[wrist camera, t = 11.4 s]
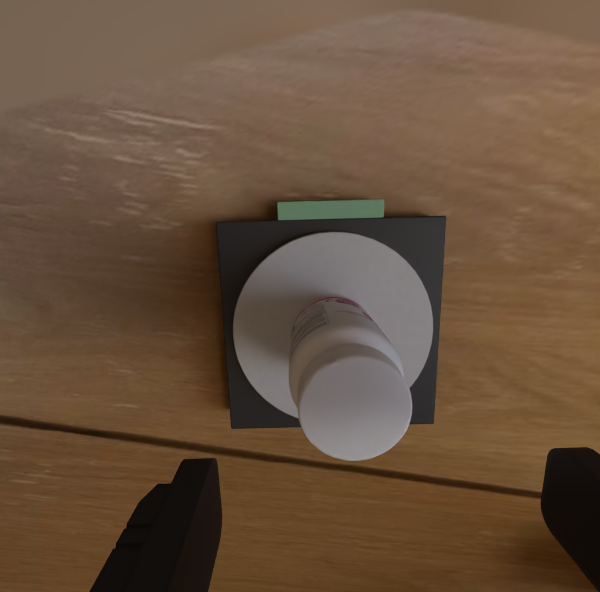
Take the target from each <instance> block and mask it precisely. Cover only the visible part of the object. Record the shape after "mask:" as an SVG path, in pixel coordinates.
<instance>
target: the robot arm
mask: <svg viewBox="0 0 600 592" xmlns="http://www.w3.org/2000/svg"><path fill="white" fill-rule="evenodd" d="M541 511H542V515H543V518H544V520H545V523H546V525H547V527H548V529H549V530H550V532H551V533H552V535H553V536H554V537H555V538H556V540H557V541H558V542H559V543H560V545H561V546H562V547H563V548H564V549H565V551H566V552H567V553H568V554H569V556H570V557H571V558H572V559H573V561H574V562H575V563H576V564H577V566H578V567H579V568H580V569H581V571H582V572H583V573H584V574H585V575H586V577H587V578H588V579H589V580H590V582H591V583H592V584H593V585H594V587H595V588H596V589H597V590H598V592H600V454H598V453H597V452H596V451H594V450H593V449H590V448H587V447H580V448H554V449H552V450H550V451H549V453H548V456H547V462H546V469H545V476H544V483H543V490H542V496H541ZM221 528H222V507H221V496H220V486H219V475H218V465H217V461H216V459H215V458H205V459H184V460H183V461H182V462H181V464H180V466H179V468H178V470H177V472H176V474H175V477H174V479H173V481H172V483H171V484H157V485H156V486H155V487H154V488H153V489H152V490H151V491H150V492H149V493H148V494H147V495H146V496H145V497H144V498H143V499H142V500H141V501H140V502H139V503H138V505H137V507H136V509H135V510H134V512H133V514H132V516H131V518H130V519H129V521H128V523H127V527H126V529H124V530H123V532H122V534H121V536H120V537H119V539H118V541H117V543H116V548H115V549H113V550H112V552H111V554H110V556H109V557H108V559H107V561H106V563H105V565H104V566H103V568H102V570H101V572H100V574H99V576H98V577H97V579H96V581H95V583H94V585H93V586H92V588H91V590H90V592H208V589H209V585H210V580H211V576H212V572H213V568H214V564H215V559H216V555H217V551H218V547H219V542H220V536H221Z"/></svg>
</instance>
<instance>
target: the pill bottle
mask: <svg viewBox="0 0 600 592" xmlns="http://www.w3.org/2000/svg"><path fill="white" fill-rule="evenodd" d="M289 387H290V392H291V396H292V399H293V401H294V403H295V405H296V407H297V408H298V418H299V422H300V425H301V428H302V430H303V432H304V434H305V435H306V437H307V438H308V440H309V441H310V442H311V443H312V444H313V445H314V446H315V447H316V448H318V449H319V450H320V451H322V452H323V453H325V454H327V455H329V456H332V457H334V458H338V459H341V460H349V461H358V460H365V459H370V458H373V457H376V456H378V455H381V454H382V453H384V452H386V451H388V450H389V449H390V448H392V447H393V446H394V445H395V444H396V443H397V442H398V441H399V440H400V439H401V438H402V436H403V435H404V434H405V432H406V430H407V428H408V426H409V423H410V420H411V416H412V398H411V393H410V389H409V387H408V385H407V383H406V381H405V379H404V372H403V366H402V363H401V360H400V357H399V355H398V353H397V351H396V349H395V348H394V346H393V345H392V344H391V342H390V341H389V340H388V338H387V337H386V336H385V334H384V333H383V332H382V331H381V329H380V328H379V327H378V325H377V324H376V323H375V322H374V320H373V319H372V318H371V316H370V315H369V314H368V313H367V311H366V310H365V309H364V308H363V307H362V306H361V305H359V304H358V303H356V302H355V301H353V300H351V299H348V298H345V297H339V296H328V297H323V298H320V299H317V300H315V301H313V302H312V303H310V304H309V305H307V306H306V307H305V308H304V309H303V310H302V311H301V312H300V313H299V315H298V316H297V318H296V320H295V322H294V325H293V328H292V333H291V346H290V360H289Z"/></svg>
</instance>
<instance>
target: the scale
mask: <svg viewBox="0 0 600 592" xmlns="http://www.w3.org/2000/svg"><path fill="white" fill-rule="evenodd" d="M277 213H278V220H270V221H233V222H216V232H217V245H218V258H219V271H220V285H221V298H222V311H223V324H224V338H225V351H226V364H227V377H228V391H229V404H230V417H231V428H232V429H243V428H282V427H301V425H300V422H299V418H298V408H297V407H296V405H295V403H294V401H293V399H292V396H291V392H290V387H289V360H290V346H291V333H292V328H293V325H294V322H295V320H296V318H297V316H298V315H299V313H300V312H301V311H302V310H303V309H304V308H305V307H306V306H307V305H309V304H310V303H312V302H313V301H315V300H317V299H320V298H323V297H328V296H339V297H345V298H348V299H351V300H353V301H355V302H356V303H358V304H359V305H361V306H362V307H363V308H364V309H365V310H366V311H367V313H368V314H369V315H370V316H371V318H372V319H373V320H374V322H375V323H376V324H377V325H378V327H379V328H380V329H381V331H382V332H383V333H384V334H385V336H386V337H387V338H388V340H389V341H390V342H391V344H392V345H393V346H394V348H395V349H396V351H397V353H398V355H399V357H400V360H401V363H402V366H403V372H404V379H405V381H406V383H407V385H408V387H409V389H410V393H411V398H412V416H411V420H410V423H409V424H433V423H434V410H435V393H436V376H437V360H438V343H439V327H440V310H441V293H442V277H443V260H444V243H445V227H446V216H418V217H384V199H370V200H333V201H296V202H277Z"/></svg>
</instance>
